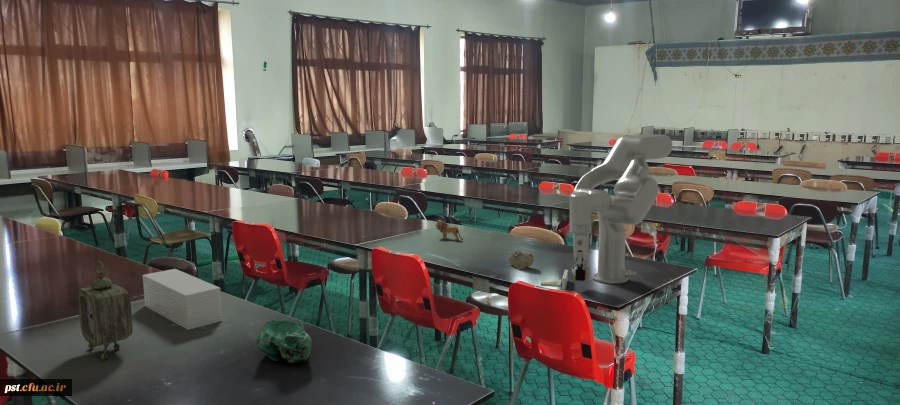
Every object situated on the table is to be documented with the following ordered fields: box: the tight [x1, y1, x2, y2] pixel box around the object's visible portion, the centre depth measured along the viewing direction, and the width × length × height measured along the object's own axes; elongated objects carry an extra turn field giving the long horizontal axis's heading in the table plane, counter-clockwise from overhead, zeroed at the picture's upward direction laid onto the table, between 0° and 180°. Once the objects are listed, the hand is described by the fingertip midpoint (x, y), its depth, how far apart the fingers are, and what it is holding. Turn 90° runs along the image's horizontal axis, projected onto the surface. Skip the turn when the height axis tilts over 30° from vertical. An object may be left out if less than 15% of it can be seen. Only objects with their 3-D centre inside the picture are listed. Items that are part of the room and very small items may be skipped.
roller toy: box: [571, 263, 591, 281], centre depth 228 cm, size 4×6×6 cm
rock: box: [508, 250, 535, 271], centre depth 258 cm, size 7×11×10 cm
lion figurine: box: [435, 219, 464, 242], centre depth 310 cm, size 15×5×9 cm, turn 64°
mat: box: [540, 277, 562, 287], centre depth 237 cm, size 7×7×1 cm
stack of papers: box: [142, 268, 223, 331], centre depth 204 cm, size 32×11×11 cm, turn 46°
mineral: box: [255, 319, 313, 364], centre depth 167 cm, size 18×16×10 cm
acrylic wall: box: [561, 269, 569, 291], centre depth 234 cm, size 1×12×4 cm, turn 166°
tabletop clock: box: [77, 260, 134, 360], centre depth 171 cm, size 14×9×25 cm, turn 45°
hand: (580, 277), depth 229 cm, fingers closed on roller toy, 5 cm apart
